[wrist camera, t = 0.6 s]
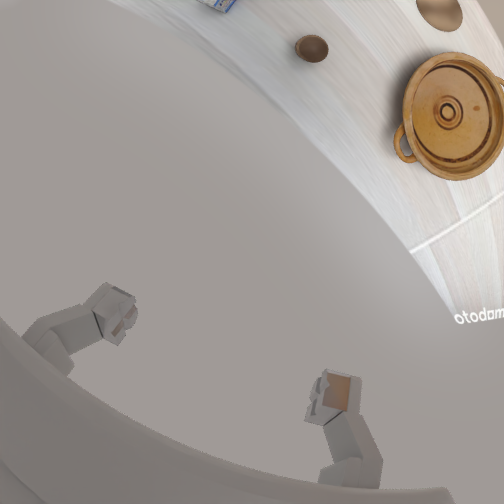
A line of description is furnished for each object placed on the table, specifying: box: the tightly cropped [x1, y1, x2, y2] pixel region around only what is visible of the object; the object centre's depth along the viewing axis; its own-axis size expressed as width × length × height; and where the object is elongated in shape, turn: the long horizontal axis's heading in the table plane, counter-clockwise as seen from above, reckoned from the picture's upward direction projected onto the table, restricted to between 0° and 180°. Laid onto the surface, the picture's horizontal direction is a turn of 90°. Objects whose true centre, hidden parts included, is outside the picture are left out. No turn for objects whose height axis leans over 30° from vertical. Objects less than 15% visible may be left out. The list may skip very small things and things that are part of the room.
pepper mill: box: [295, 35, 328, 63], centre depth 32 cm, size 4×4×11 cm
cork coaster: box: [416, 0, 463, 32], centre depth 24 cm, size 10×10×1 cm
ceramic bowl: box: [394, 52, 504, 181], centre depth 35 cm, size 30×24×8 cm
